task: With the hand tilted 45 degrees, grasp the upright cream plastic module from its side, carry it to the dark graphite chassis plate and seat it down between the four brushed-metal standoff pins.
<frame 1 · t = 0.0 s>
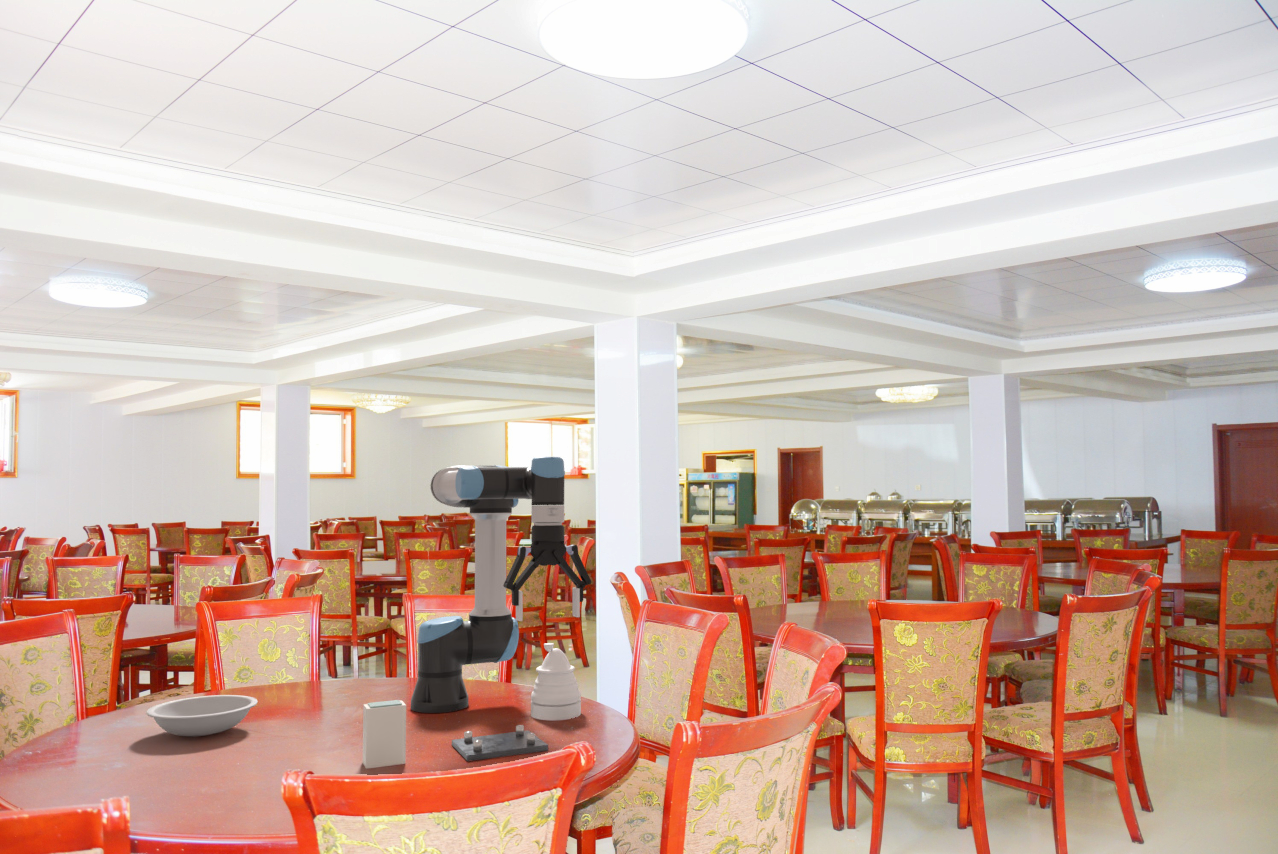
hand: (548, 618, 201), 28 cm above the table, tool pointing down, fingers open, 13 cm apart
module: (383, 763, 187), on the table
soup bowl: (202, 734, 212), on the table
honey pot: (555, 715, 228), on the table
chassis: (499, 747, 197), on the table
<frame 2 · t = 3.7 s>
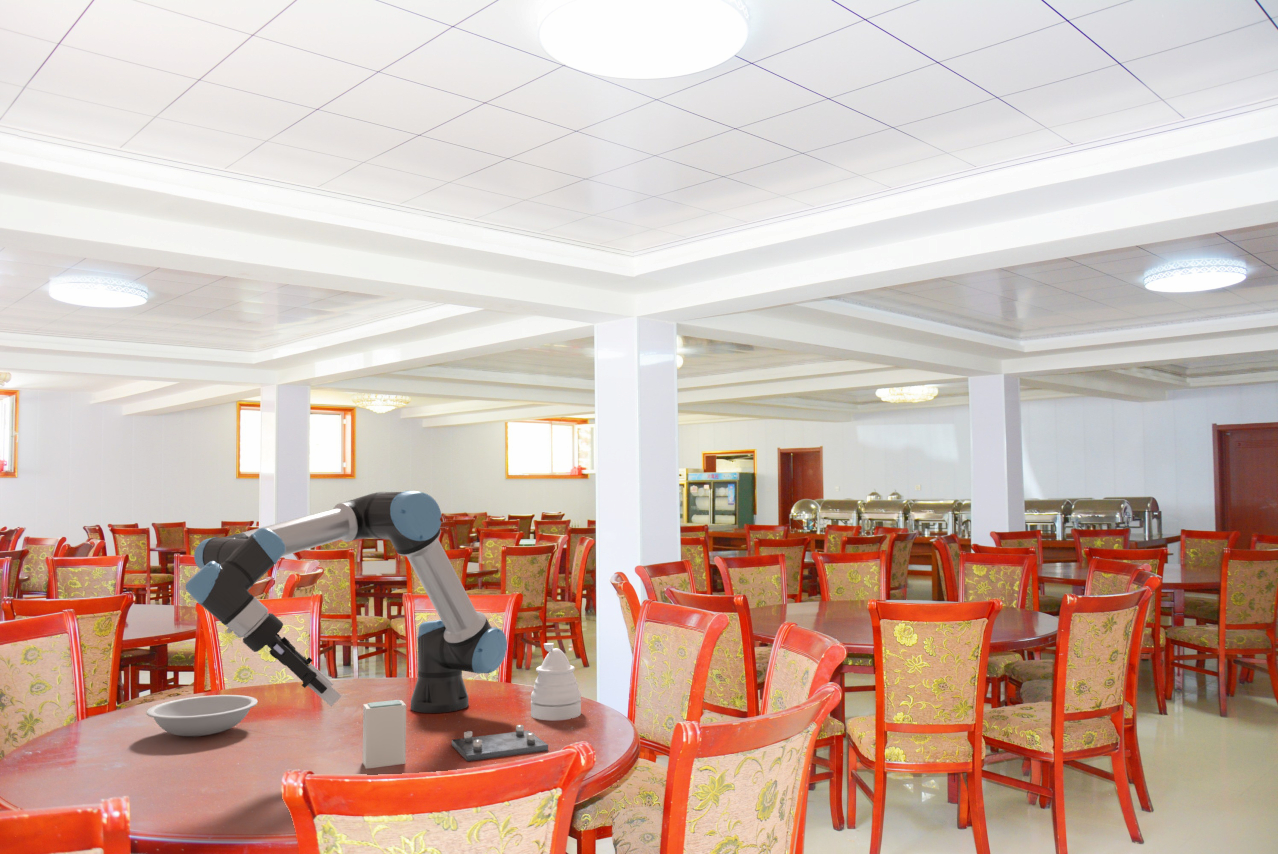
hand: (332, 694, 183), 15 cm above the table, tool tilted 45°, fingers open, 13 cm apart
nothing on the table moved.
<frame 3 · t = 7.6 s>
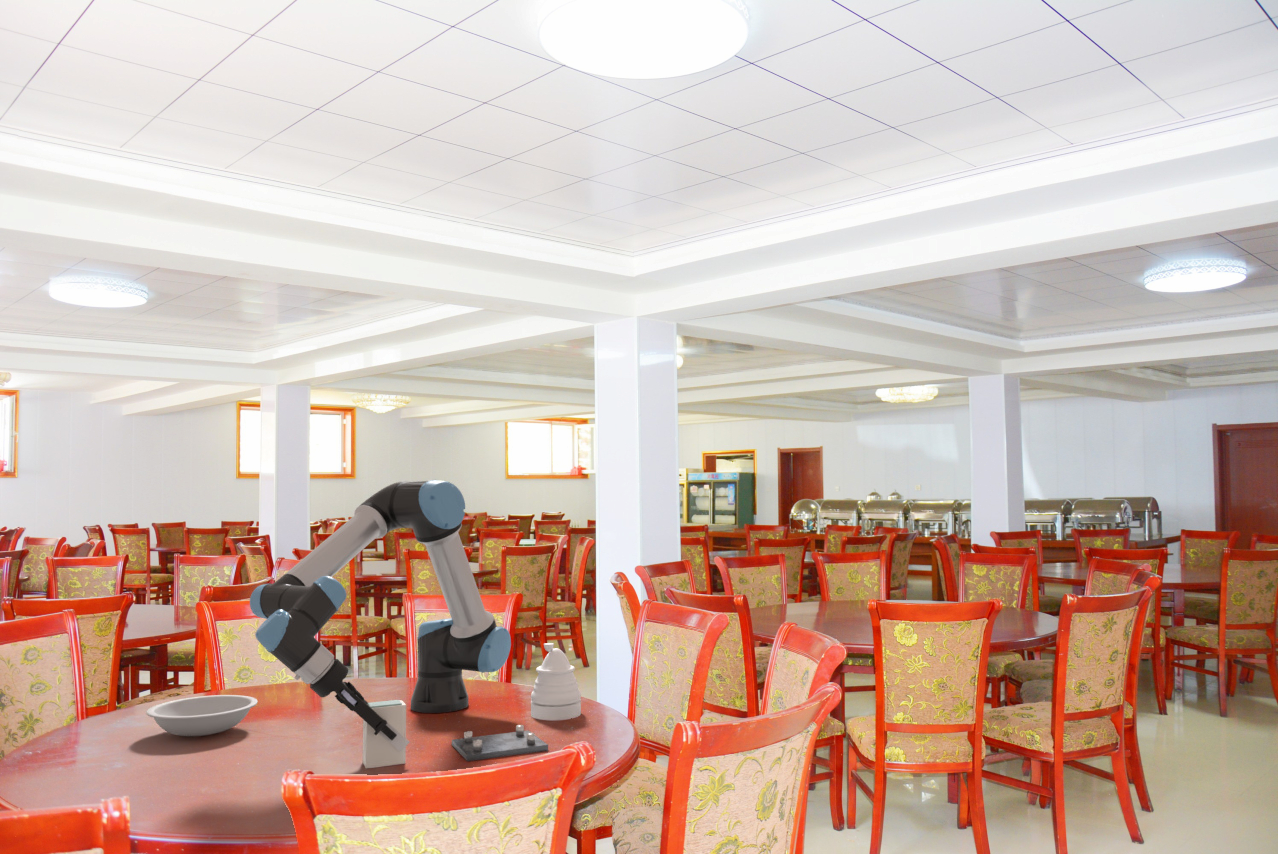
hand: (402, 743, 189), 4 cm above the table, tool tilted 45°, fingers closed on module, 5 cm apart
module: (383, 762, 187), on the table, touching gripper
everything else where it was.
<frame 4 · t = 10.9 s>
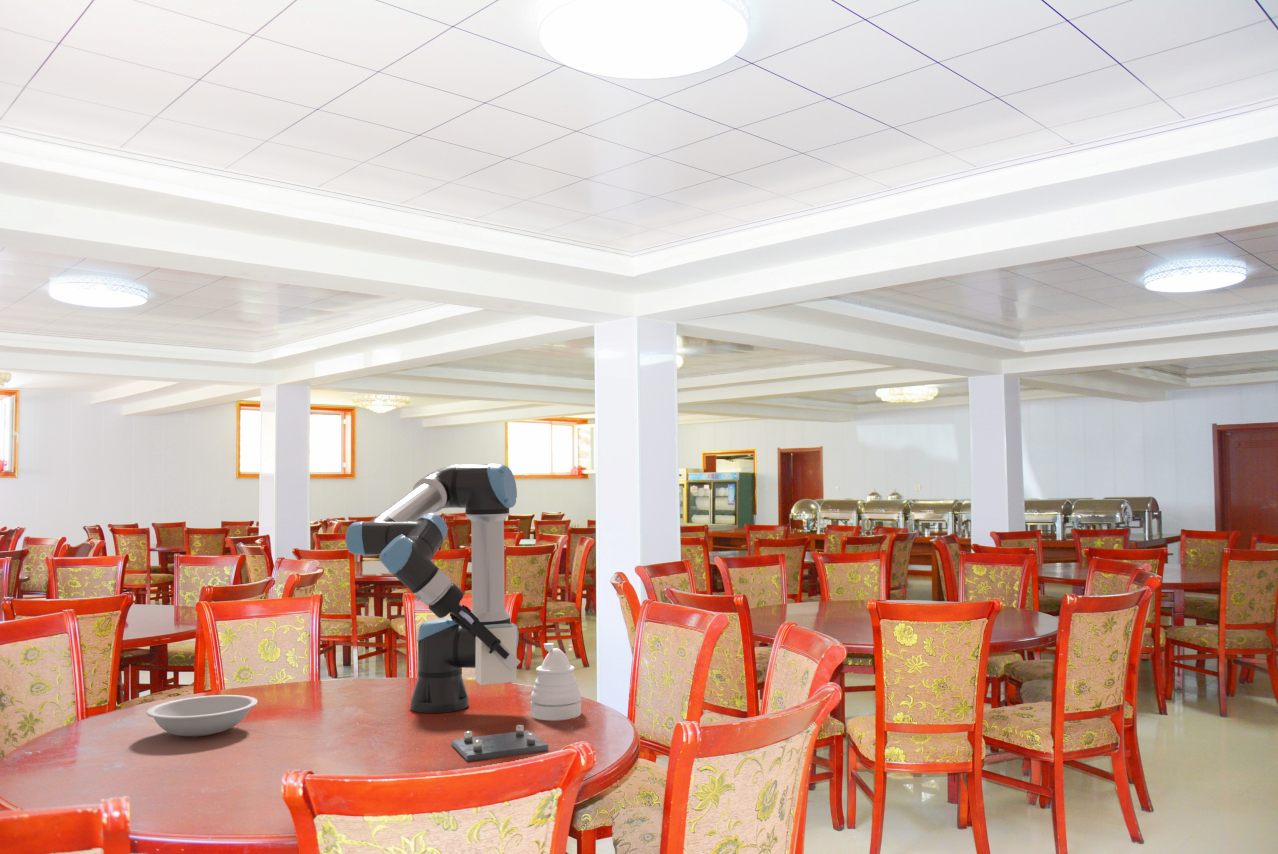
hand: (512, 663, 200), 18 cm above the table, tool tilted 45°, fingers closed on module, 5 cm apart
module: (495, 681, 198), point 15 cm above the table, touching gripper
everything else where it was.
when the fingers open (6 cm above the table, at t = 14.3 s): module drops 1 cm, resting on chassis.
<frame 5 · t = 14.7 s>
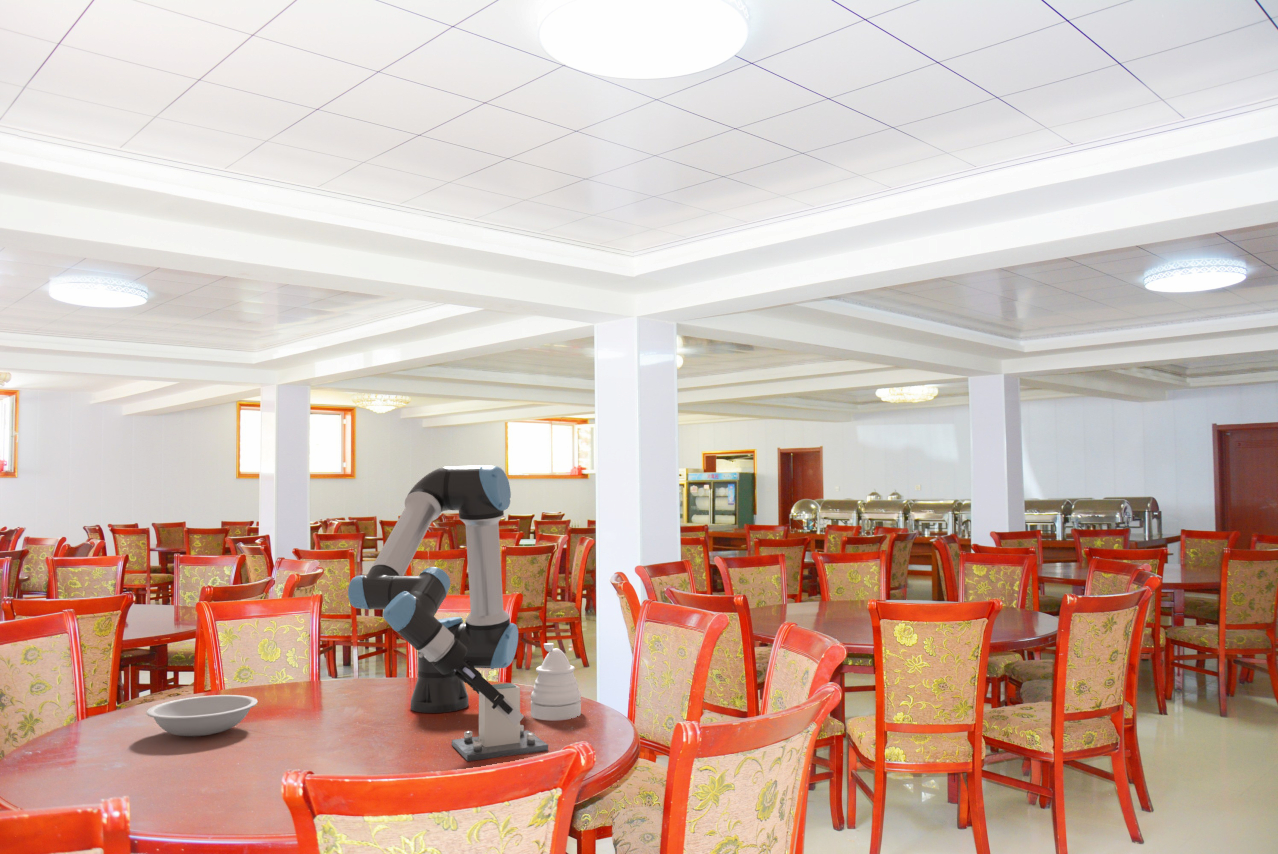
hand: (511, 715, 199), 7 cm above the table, tool tilted 45°, fingers open, 11 cm apart
module: (499, 742, 197), point 1 cm above the table, touching chassis
everything else where it was.
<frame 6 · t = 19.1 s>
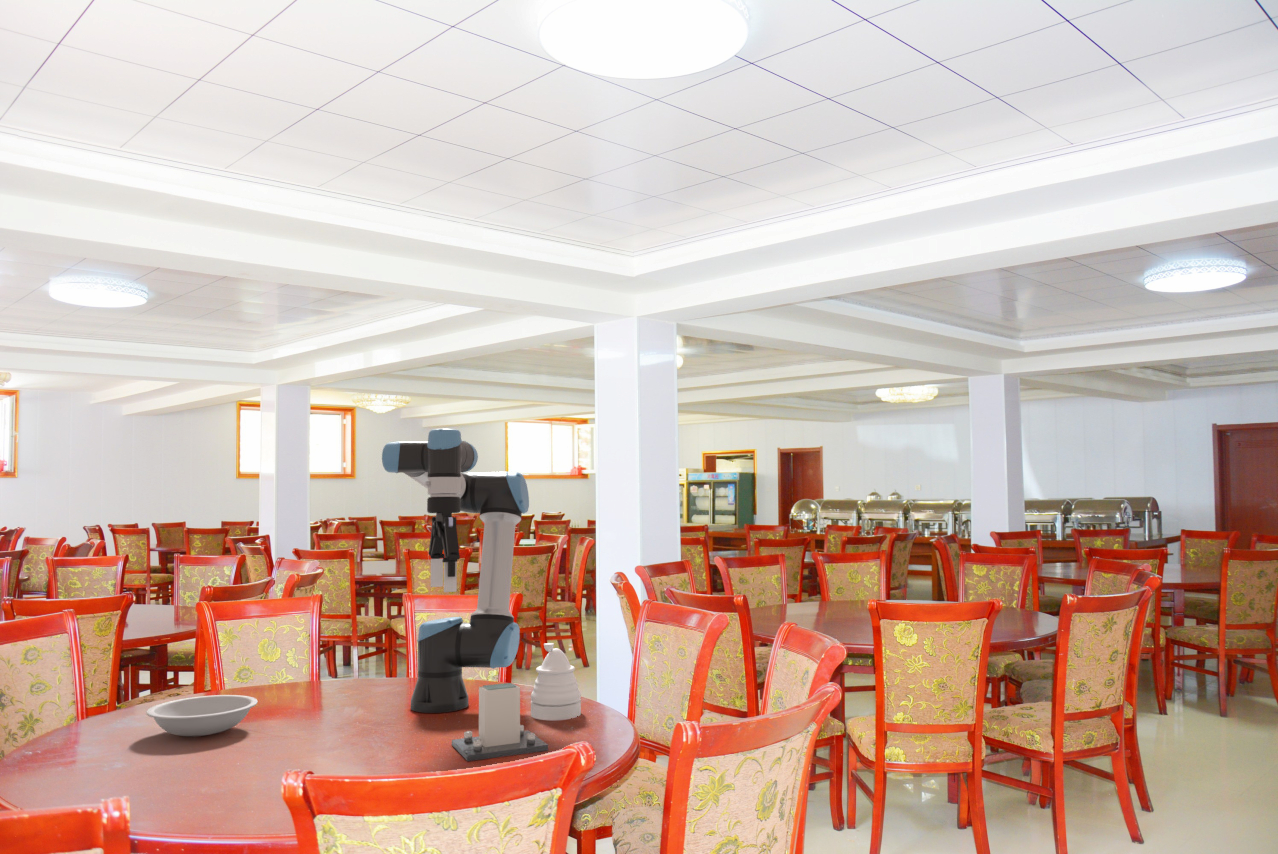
hand: (443, 589, 203), 35 cm above the table, tool pointing down, fingers open, 13 cm apart
nothing on the table moved.
at the end: module 0.0 cm off-centre on the chassis, point 1.2 cm above the chassis's base; module tilted 0°; the gripper is holding nothing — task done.
